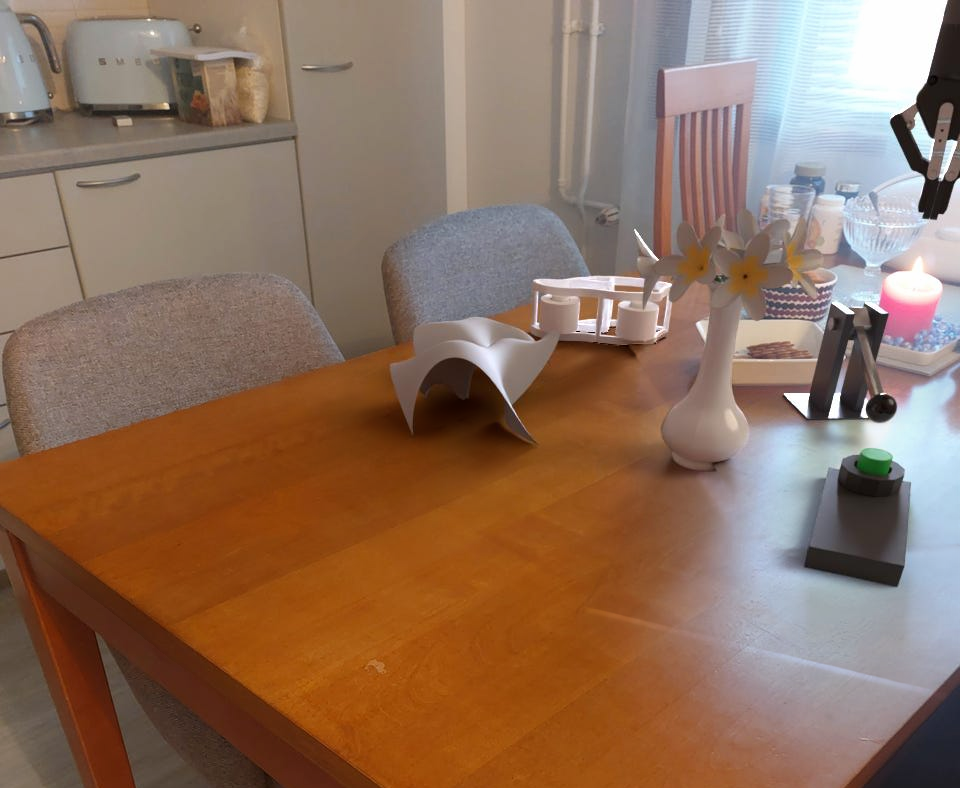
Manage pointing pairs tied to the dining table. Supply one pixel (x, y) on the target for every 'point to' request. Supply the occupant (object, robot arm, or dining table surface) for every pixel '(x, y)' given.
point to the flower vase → (724, 321)
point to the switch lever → (870, 369)
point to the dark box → (861, 524)
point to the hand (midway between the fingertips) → (929, 218)
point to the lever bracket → (832, 351)
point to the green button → (874, 461)
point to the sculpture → (472, 362)
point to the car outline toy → (598, 310)
